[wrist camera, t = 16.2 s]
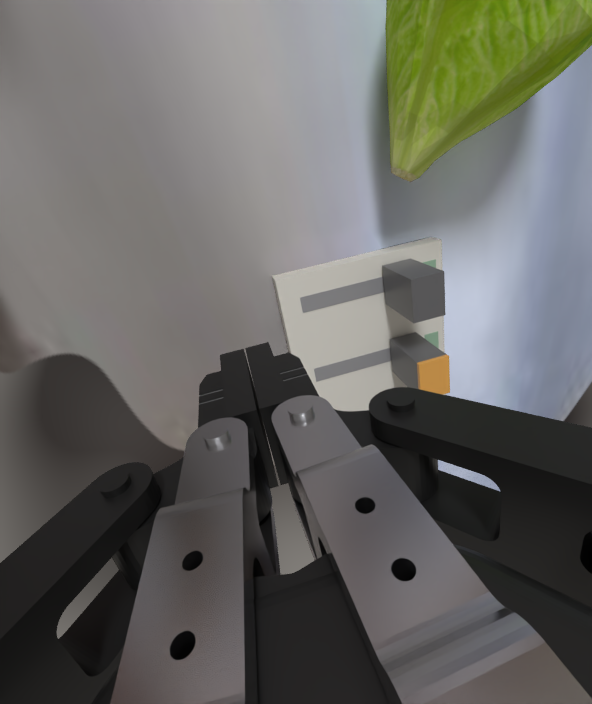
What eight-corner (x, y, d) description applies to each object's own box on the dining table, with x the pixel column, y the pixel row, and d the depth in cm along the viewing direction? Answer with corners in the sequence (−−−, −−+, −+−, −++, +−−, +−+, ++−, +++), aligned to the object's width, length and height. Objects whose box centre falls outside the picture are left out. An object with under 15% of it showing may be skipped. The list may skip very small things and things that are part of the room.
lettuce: (443, 196, 41) (314, 128, 38) (618, -84, 30) (456, -216, 27) (506, 236, 29) (321, 139, 25) (842, -217, 18) (592, -492, 14)
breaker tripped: (392, 371, 43) (421, 400, 37) (389, 339, 41) (418, 364, 36) (417, 364, 43) (449, 392, 38) (415, 331, 42) (449, 356, 36)
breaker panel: (310, 448, 48) (314, 459, 46) (271, 276, 38) (275, 281, 36) (437, 410, 50) (446, 419, 48) (430, 236, 40) (441, 239, 38)
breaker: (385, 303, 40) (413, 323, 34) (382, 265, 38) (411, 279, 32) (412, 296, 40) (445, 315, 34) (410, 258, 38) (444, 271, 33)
